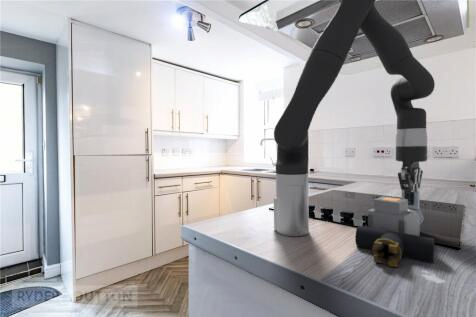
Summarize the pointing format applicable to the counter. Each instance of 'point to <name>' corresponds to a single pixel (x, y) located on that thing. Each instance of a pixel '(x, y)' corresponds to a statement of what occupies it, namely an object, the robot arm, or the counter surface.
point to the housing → (394, 217)
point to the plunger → (390, 199)
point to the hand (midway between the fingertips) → (410, 204)
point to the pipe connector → (394, 245)
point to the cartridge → (415, 204)
